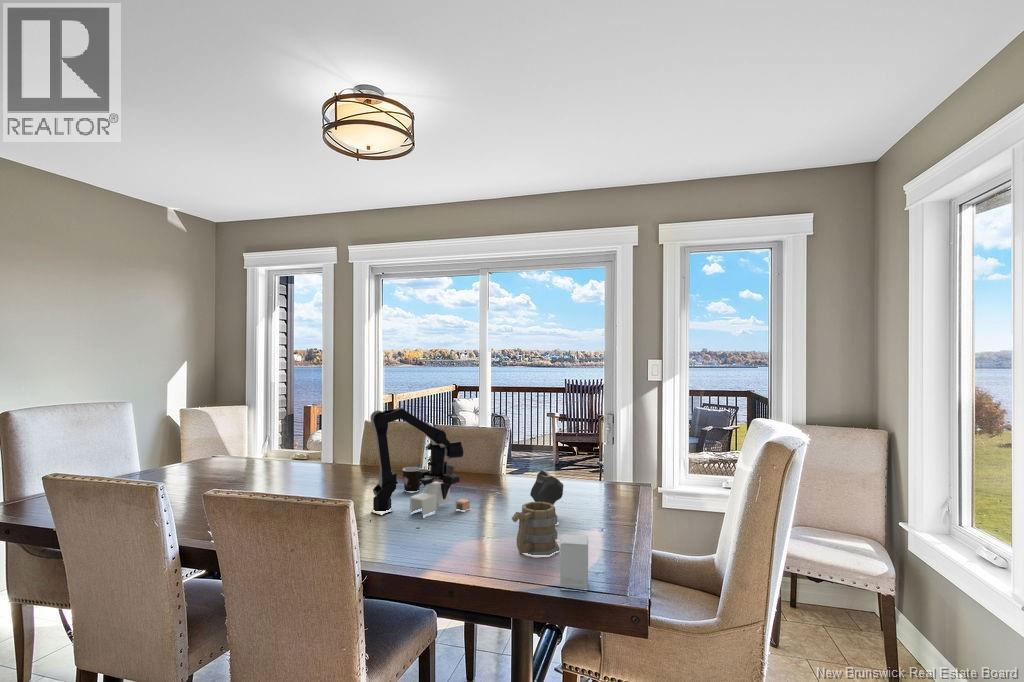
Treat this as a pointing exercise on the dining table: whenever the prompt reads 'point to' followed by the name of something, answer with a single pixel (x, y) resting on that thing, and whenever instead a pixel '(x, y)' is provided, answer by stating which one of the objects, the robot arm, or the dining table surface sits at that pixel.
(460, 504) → the plain orange cube
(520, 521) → the tankard
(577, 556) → the supplement box
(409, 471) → the coffee mug
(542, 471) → the dark grey rock
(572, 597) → the dining table surface
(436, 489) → the cover
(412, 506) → the cover
